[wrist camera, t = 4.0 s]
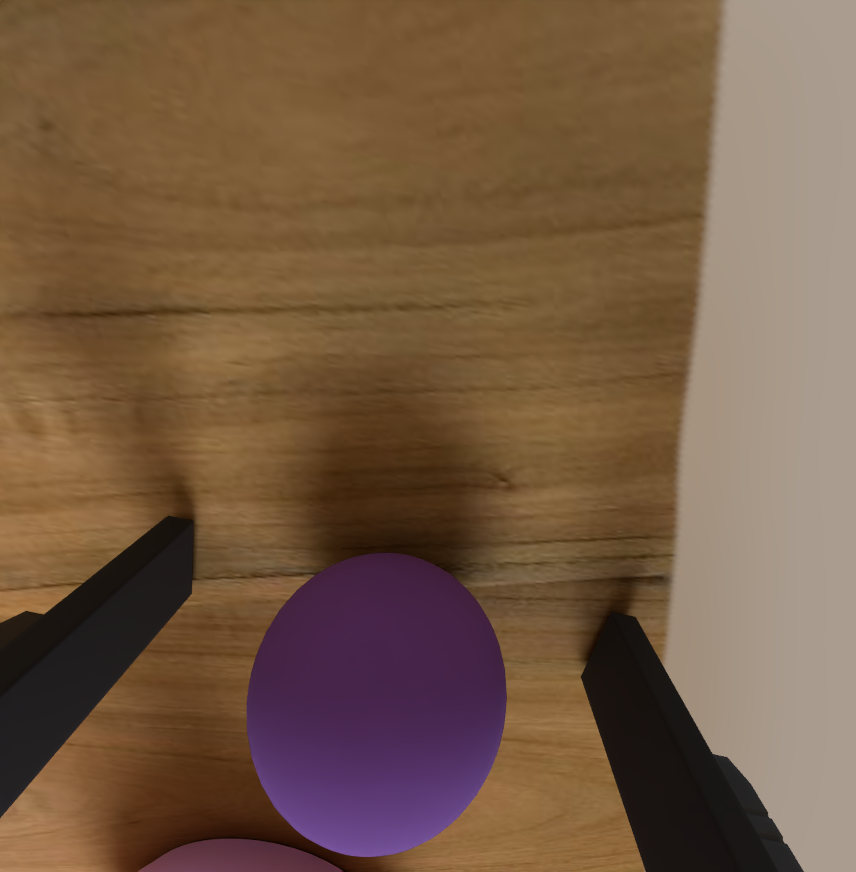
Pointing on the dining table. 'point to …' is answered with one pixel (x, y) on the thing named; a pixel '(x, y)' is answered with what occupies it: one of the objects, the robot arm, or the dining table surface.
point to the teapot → (238, 858)
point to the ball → (376, 704)
